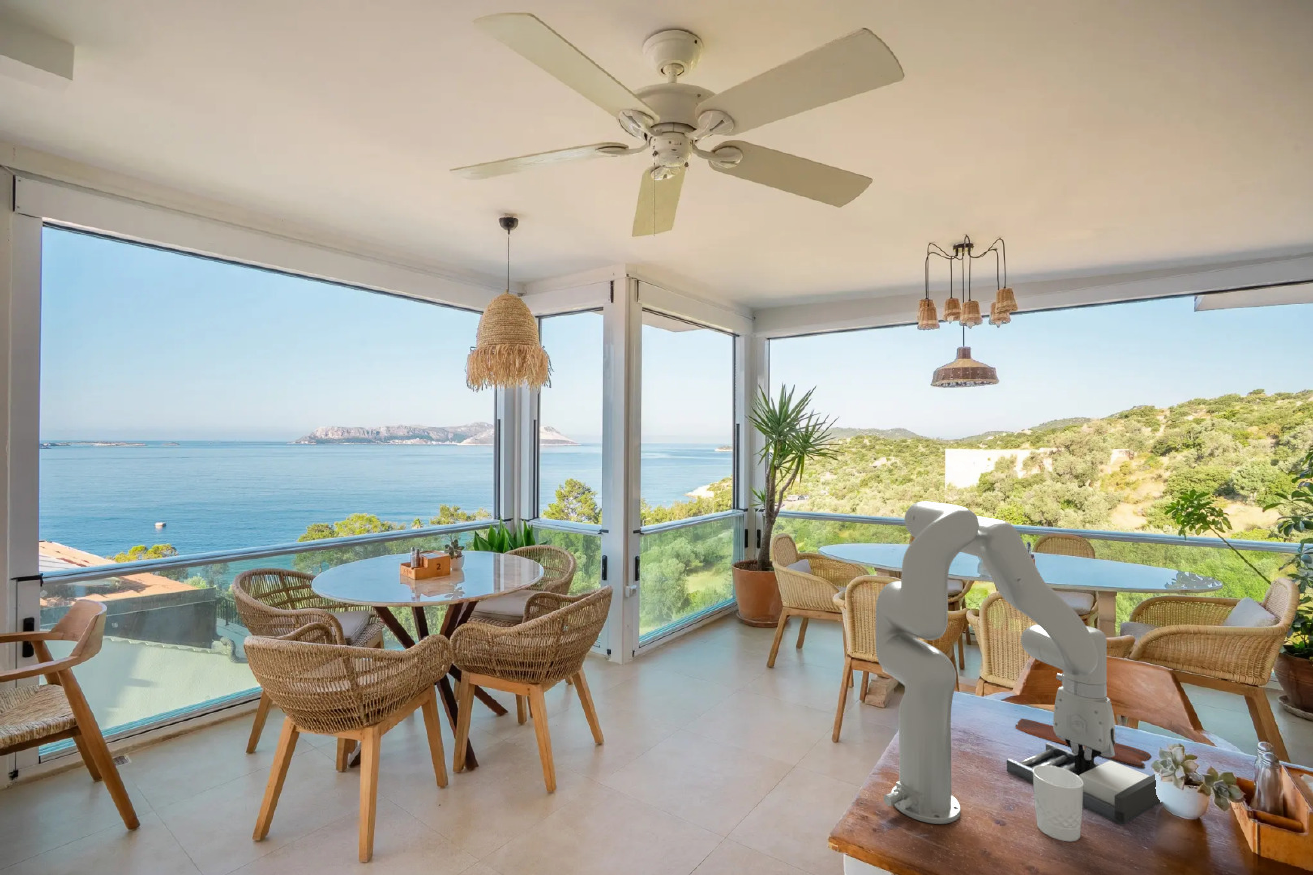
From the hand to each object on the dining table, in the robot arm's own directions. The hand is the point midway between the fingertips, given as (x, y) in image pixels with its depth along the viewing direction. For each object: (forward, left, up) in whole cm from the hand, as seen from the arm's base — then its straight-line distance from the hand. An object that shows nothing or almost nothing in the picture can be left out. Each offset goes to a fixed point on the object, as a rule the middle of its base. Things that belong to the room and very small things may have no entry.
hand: (1084, 774), depth 127 cm
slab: (0, -6, -1) cm, 6 cm away
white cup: (-20, -5, -3) cm, 21 cm away
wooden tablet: (+21, +11, -3) cm, 24 cm away
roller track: (0, +1, -3) cm, 3 cm away
